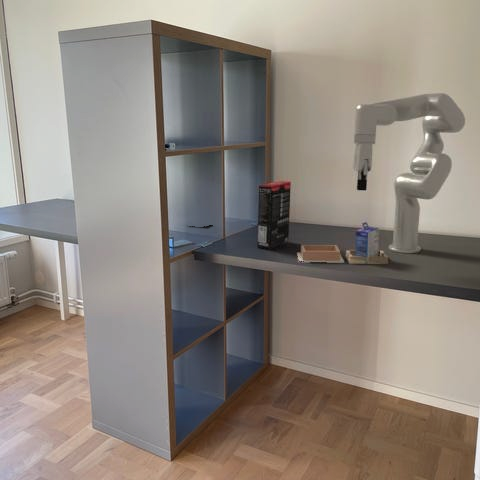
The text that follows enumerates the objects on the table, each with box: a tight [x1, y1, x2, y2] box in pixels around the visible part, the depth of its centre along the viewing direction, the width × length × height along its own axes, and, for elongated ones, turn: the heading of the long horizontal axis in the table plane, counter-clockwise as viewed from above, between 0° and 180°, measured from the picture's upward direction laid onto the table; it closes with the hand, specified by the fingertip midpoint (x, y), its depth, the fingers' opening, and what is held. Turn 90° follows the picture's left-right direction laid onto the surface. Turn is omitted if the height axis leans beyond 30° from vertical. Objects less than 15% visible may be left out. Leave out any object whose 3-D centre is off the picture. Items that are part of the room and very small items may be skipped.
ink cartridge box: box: [355, 221, 380, 265], centre depth 188 cm, size 10×6×14 cm, turn 142°
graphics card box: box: [256, 180, 292, 250], centre depth 211 cm, size 17×7×27 cm, turn 147°
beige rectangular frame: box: [345, 249, 389, 265], centre depth 190 cm, size 10×14×3 cm
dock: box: [296, 244, 345, 264], centre depth 192 cm, size 12×17×4 cm
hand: (361, 190), depth 184 cm, fingers closed
